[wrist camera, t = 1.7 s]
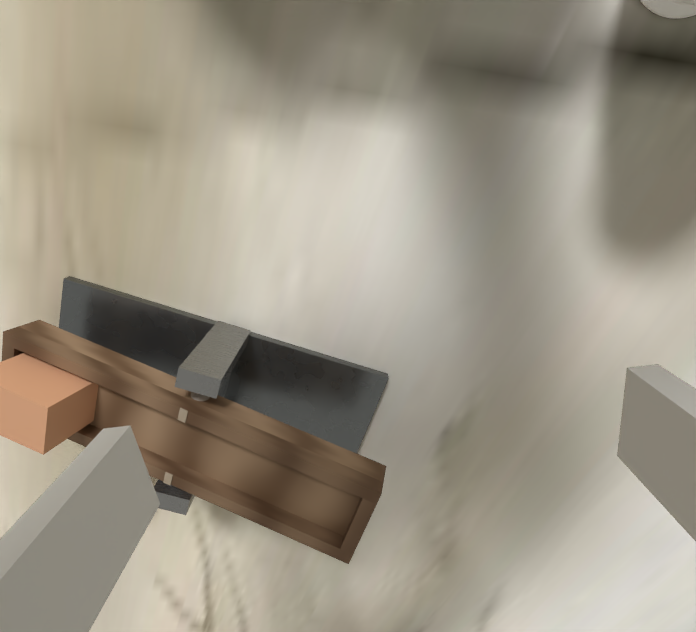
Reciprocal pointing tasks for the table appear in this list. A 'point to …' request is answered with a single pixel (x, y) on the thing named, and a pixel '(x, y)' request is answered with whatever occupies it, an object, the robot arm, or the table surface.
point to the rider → (43, 402)
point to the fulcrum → (227, 367)
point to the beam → (219, 445)
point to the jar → (671, 8)
